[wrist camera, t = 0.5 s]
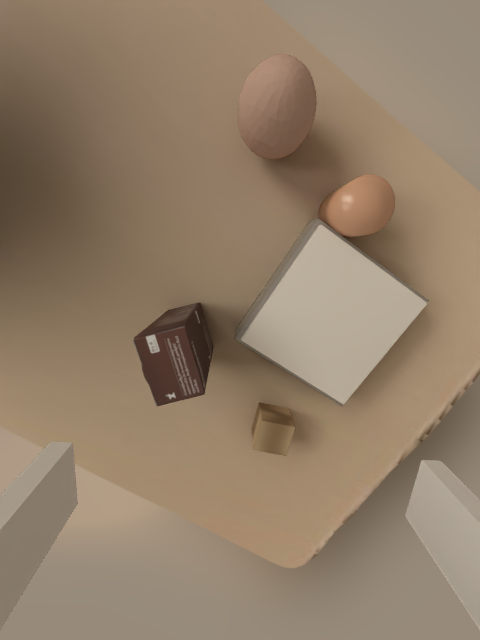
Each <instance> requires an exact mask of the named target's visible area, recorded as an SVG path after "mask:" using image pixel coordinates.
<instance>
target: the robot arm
mask: <svg viewBox="0 0 480 640" xmlns="http://www.w3.org/2000/svg"><path fill="white" fill-rule="evenodd" d="M76 491H77V490H76V477H75V464H74V452H73V443H70V442H50V443H49V444H48V445H47V446H46V447H45V448H44V449H43V451H42V452H41V453H40V454H39V455H38V456H37V457H36V458H35V459H34V460H33V461H32V462H31V463H30V464H29V465H28V466H27V467H26V468H25V469H24V470H23V472H22V473H21V474H20V475H19V476H18V477H17V478H16V479H15V480H14V481H13V482H12V483H11V484H10V485H9V486H8V487H7V488H6V489H5V490H4V492H3V493H2V494H1V495H0V630H1V628H2V626H3V625H4V623H5V622H6V620H7V618H8V616H9V615H10V613H11V612H12V610H13V608H14V607H15V605H16V604H17V602H18V600H19V599H20V597H21V595H22V594H23V592H24V590H25V589H26V587H27V586H28V584H29V582H30V581H31V579H32V577H33V576H34V574H35V572H36V571H37V569H38V568H39V566H40V564H41V563H42V561H43V559H44V558H45V556H46V554H47V553H48V551H49V550H50V548H51V546H52V545H53V543H54V541H55V539H56V538H57V536H58V535H59V533H60V531H61V530H62V528H63V526H64V525H65V523H66V521H67V520H68V518H69V517H70V515H71V514H72V512H73V510H74V509H75V507H76V505H77V504H78V503H77V492H76ZM405 517H406V518H407V520H408V521H409V523H410V524H411V526H412V527H413V529H414V530H415V532H416V534H417V535H418V537H419V538H420V540H421V541H422V543H423V544H424V546H425V547H426V549H427V550H428V552H429V553H430V555H431V557H432V558H433V560H434V561H435V562H436V564H437V566H438V567H439V569H440V570H441V572H442V573H443V575H444V576H445V578H446V579H447V581H448V582H449V584H450V586H451V587H452V589H453V590H454V592H455V593H456V595H457V596H458V598H459V599H460V601H461V602H462V604H463V605H464V607H465V608H466V610H467V611H468V613H469V615H470V616H471V618H472V619H473V620H474V622H475V624H476V625H477V627H478V628H479V630H480V500H479V499H478V498H477V497H476V496H475V495H474V494H473V493H472V492H471V491H470V490H469V489H468V488H467V487H466V486H465V485H464V484H463V483H462V482H461V481H460V480H459V479H458V478H457V477H456V476H455V475H454V474H453V473H452V472H451V471H450V470H449V469H448V468H447V467H446V466H445V465H444V464H443V463H442V462H441V461H432V460H422V461H421V464H420V468H419V471H418V474H417V478H416V481H415V484H414V488H413V491H412V495H411V498H410V502H409V505H408V509H407V511H406V515H405Z"/></svg>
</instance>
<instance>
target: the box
mask: <svg viewBox="0 0 480 640" xmlns="http://www.w3.org/2000/svg"><path fill="white" fill-rule="evenodd" d="M133 342H134V344H135V347H136V350H137V353H138V355H139V358H140V360H141V363H142V371H143V374H144V377H145V379H146V381H147V382H148V384H149V386H150V389H151V392H152V394H153V397H154V400H155V403H156V406H161V405H164V404H168V403H172V402H176V401H180V400H184V399H189V398H193V397H197V396H201V395H204V394H205V388H206V383H207V377H208V372H209V367H210V362H211V357H212V352H213V344H212V341H211V338H210V335H209V331H208V328H207V324H206V321H205V318H204V314H203V310H202V306H201V303H195V304H191V305H187V306H183V307H179V308H175V309H171V310H168V311H166V312H165V313H164V314H163V315H162V316H161V317H159V318H158V319H157V320H156V321H155V322H153V323H152V324H151V325H149V326H148V327H147V328H146V329H144V330H143V331H142V332H141V333H139V334H138V335H137V336H135V337H134V339H133Z"/></svg>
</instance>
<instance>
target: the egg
mask: <svg viewBox="0 0 480 640" xmlns="http://www.w3.org/2000/svg"><path fill="white" fill-rule="evenodd" d="M316 104H317V103H316V91H315V86H314V83H313V79H312V76H311V74H310V72H309V70H308V69H307V68H306V66H305V65H304V64H303V63H302V62H301V61H299V60H298V59H297V58H295V57H293V56H290V55H285V54H277V55H274V56H271V57H269V58H267V59H266V60H264V61H263V62H261V63H260V64H259V65H258V66H257V67H256V68H255V69H254V70H253V71H252V72H251V73H250V75H249V77H248V78H247V80H246V81H245V84H244V86H243V89H242V91H241V94H240V100H239V106H238V123H239V129H240V132H241V135H242V138H243V140H244V141H245V143H246V145H247V146H248V147H249V148H250V149H251V151H253V152H254V153H255V154H256V155H258V156H261V157H263V158H266V159H279V158H282V157H285V156H287V155H289V154H291V153H292V152H294V151H295V150H296V149H297V148H298V147H299V146H300V145H301V144H302V142H303V141H304V140H305V138H306V137H307V135H308V133H309V131H310V129H311V127H312V124H313V120H314V117H315V111H316Z"/></svg>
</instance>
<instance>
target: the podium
mask: <svg viewBox="0 0 480 640" xmlns="http://www.w3.org/2000/svg"><path fill="white" fill-rule="evenodd" d="M428 301H429V300H428V299H426V298H425V297H424V296H422V295H421V294H420V293H418V292H417V291H416V290H414V289H413V288H411V287H410V286H409V285H407V284H406V283H405V282H403V281H402V280H401V279H399V278H398V277H397V276H395V275H394V274H393V273H391V272H390V271H389V270H387V269H386V268H385V267H383V266H382V265H381V264H379V263H378V262H376V261H375V260H374V259H372V258H371V257H370V256H368V255H367V254H366V253H364V252H363V251H362V250H360V249H359V248H358V247H356V246H355V245H354V244H352V243H351V242H350V241H348V240H347V239H346V238H344V237H343V236H341V235H340V234H339V233H337V232H336V231H335V230H333V229H332V228H331V227H329V226H328V225H327V224H325V223H324V222H323V221H321V220H320V219H319V218H317V219H315V220H312V221H310V222H309V223H308V224H307V226H306V227H305V229H304V230H303V232H302V233H301V235H300V236H299V238H298V239H297V241H296V242H295V244H294V245H293V246H292V248H291V249H290V251H289V252H288V254H287V255H286V257H285V258H284V260H283V261H282V263H281V264H280V266H279V267H278V268H277V270H276V271H275V273H274V274H273V276H272V277H271V279H270V280H269V282H268V283H267V285H266V286H265V288H264V289H263V290H262V292H261V293H260V295H259V296H258V298H257V299H256V301H255V302H254V304H253V305H252V307H251V308H250V310H249V311H248V312H247V314H246V315H245V317H244V318H243V320H242V321H241V323H240V324H239V326H238V327H237V329H236V330H235V340H236V341H238V342H240V343H241V344H243V345H244V346H246V347H248V348H249V349H251V350H252V351H254V352H256V353H257V354H259V355H260V356H262V357H264V358H265V359H267V360H268V361H270V362H272V363H273V364H275V365H276V366H278V367H280V368H281V369H283V370H284V371H286V372H288V373H289V374H291V375H292V376H294V377H296V378H297V379H299V380H301V381H302V382H304V383H305V384H307V385H309V386H310V387H312V388H313V389H315V390H317V391H318V392H320V393H321V394H323V395H325V396H326V397H328V398H329V399H331V400H333V401H334V402H336V403H337V404H339V405H341V406H342V405H343V404H345V402H346V401H347V400H348V399H349V398H350V396H351V395H352V394H353V393H354V391H355V390H356V389H357V388H358V387H359V385H360V384H361V383H362V382H363V381H364V379H365V378H366V377H367V376H368V375H369V373H370V372H371V371H372V370H373V369H374V367H375V366H376V365H377V364H378V363H379V361H380V360H381V359H382V358H383V356H384V355H385V354H386V353H387V352H388V350H389V349H390V348H391V347H392V346H393V344H394V343H395V342H396V341H397V340H398V338H399V337H400V336H401V335H402V334H403V332H404V331H405V330H406V329H407V328H408V326H409V325H410V324H411V323H412V321H413V320H414V319H415V318H416V317H417V315H418V314H419V313H420V312H421V311H422V309H423V308H424V307H425V306H426V305H427V302H428Z"/></svg>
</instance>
